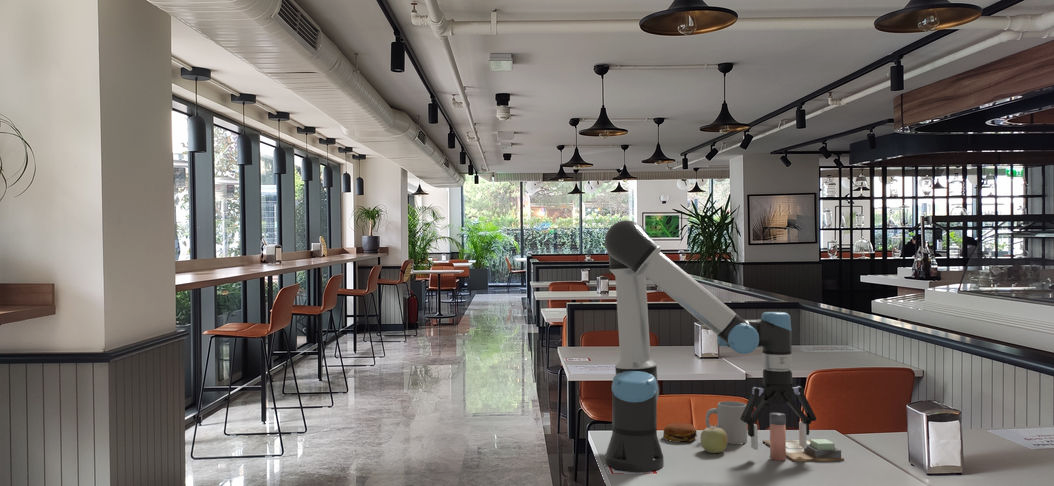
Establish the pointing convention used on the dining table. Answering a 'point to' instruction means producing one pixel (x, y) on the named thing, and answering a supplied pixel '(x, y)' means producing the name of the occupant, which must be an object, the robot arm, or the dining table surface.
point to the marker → (778, 436)
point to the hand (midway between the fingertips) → (778, 447)
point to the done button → (822, 444)
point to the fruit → (714, 439)
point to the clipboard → (808, 452)
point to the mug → (730, 420)
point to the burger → (679, 432)
